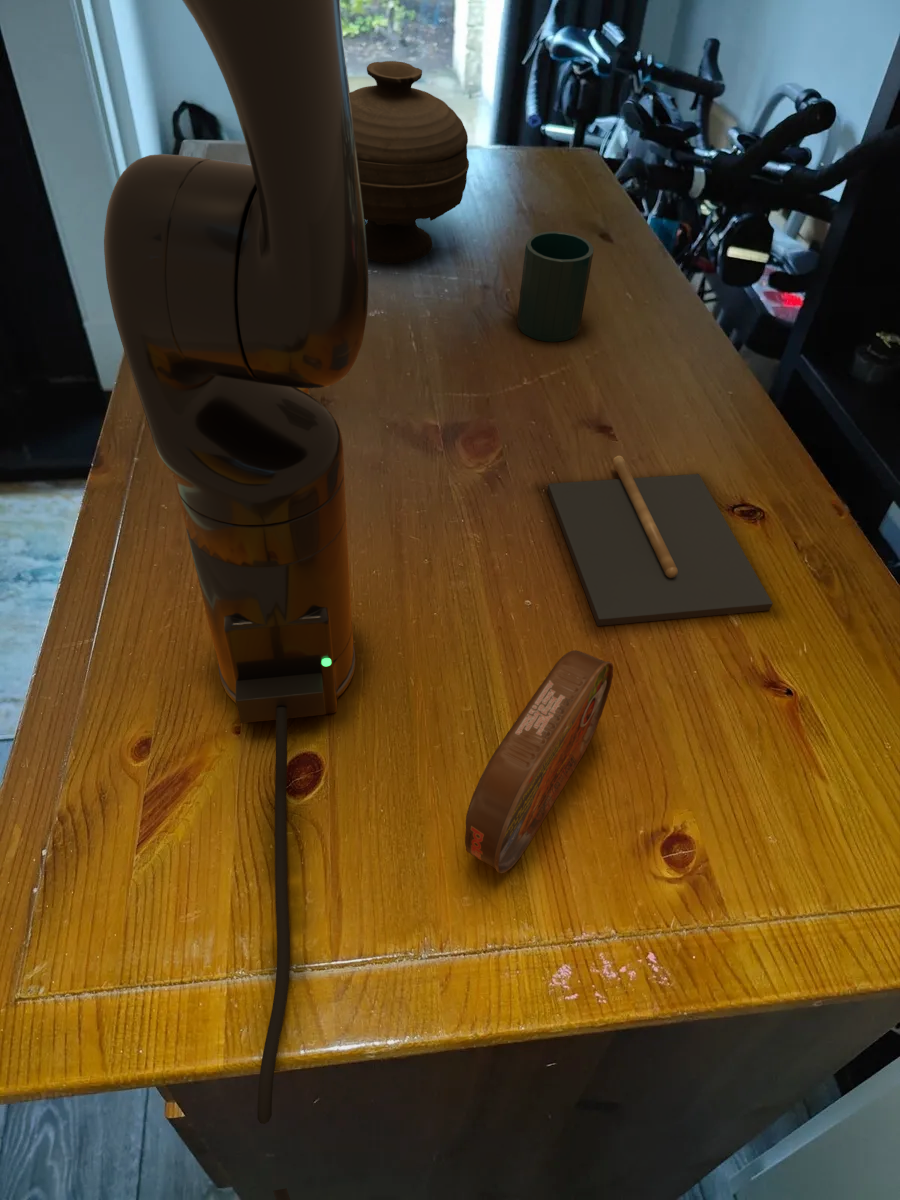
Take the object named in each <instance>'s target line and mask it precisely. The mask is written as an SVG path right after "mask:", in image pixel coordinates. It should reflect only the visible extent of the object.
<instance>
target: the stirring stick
mask: <svg viewBox="0 0 900 1200" xmlns="http://www.w3.org/2000/svg"><path fill="white" fill-rule="evenodd" d="M612 464H613V466H614V468H615V470H616V472H617V473H616V474H618V477H619V479H621V481H622V483H623V485H624V488H625V490H626V492H627V494H628V496H629V498H630V500H631V502H632V505H633V507H634V509H635V511H636V513H637V515H638V517H639V519H640V522H641V524H642V526H643V528H644V530H645V532H646V534H647V536H648V539H649V541H650V543H651V545H652V547H653V549H654V551H655V553H656V556H657V558H658V560H659V562H660V564H661V566H662V568H663V570H664V573H665V575H666V576H667V577H669V578H673V577H675V576H676V575H677V573H678V570H677V567H676V565H675V563H674V561H673V559H672V557H671V555H670V553H669V551H668V549H667V547H666V545H665V543H664V541H663V539H662V536H661V534H660V532H659V530H658V528H657V526H656V524H655V522H654V520H653V518H652V516H651V514H650V512H649V510H648V508H647V506H646V504H645V502H644V499H643V497H642V495H641V493H640V491H639V489H638V487H637V485H636V483H635V481H634V479H633V478H634V477H633V475H632V473H631V471H630V468H629V467H628V465H627V462H626V460H625V459H624V457H623V456H622V455H616V456H615V457H613V459H612Z"/></svg>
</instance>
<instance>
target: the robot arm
mask: <svg viewBox="0 0 900 1200" xmlns="http://www.w3.org/2000/svg"><path fill="white" fill-rule="evenodd" d="M181 1H182V2H183V4H184V6H185V7H186V9H187V10H188V11H189V13H190V15H191V17H192V19H193V20H194V22H195V24H196V26H197V27H198V29H199V32H201V35H202V37H203V38H204V40H205V41H206V43H207V45H208V47H209V49H210V52H211V53H212V56H213V58H214V60H215V62H216V64H217V66H218V69H219V70H220V72H221V74H222V77H223V79H224V81H225V82H224V83H225V84H226V87H227V91H228V93H229V95H230V98H231V101H232V103H233V106H234V109H235V112H236V115H237V116H236V117H237V119H238V123H239V126H240V128H241V132H242V136H243V138H244V142H245V147H246V150H247V153H248V157H249V161H250V163H249V164H248V163H242V162H235V161H227V160H219V159H213V158H211V159H210V158H205V157H199V156H189V155H181V154H167V153H157V154H149V155H145V156H143V157H141V158H138V159H136V160H135V161H133V162H132V163H130V164H129V165H128V167H126V168H125V170H123V171H122V173H121V174H120V176H119V177H118V179H117V181H116V183H115V185H114V187H113V190H112V192H111V195H110V197H109V200H108V204H107V210H106V216H105V225H104V231H103V234H104V235H103V255H104V267H105V277H106V284H107V290H108V295H109V300H110V303H111V309H112V313H113V317H114V321H115V325H116V328H117V331H118V334H119V338H120V342H121V345H122V348H123V351H124V354H125V357H126V360H127V363H128V367H129V368H130V372H131V376H132V378H133V381H134V384H135V387H136V390H137V394H138V397H139V400H140V403H141V406H142V409H143V413H144V416H145V419H146V422H147V426H148V429H149V433H150V436H151V439H152V442H153V445H154V448H155V450H156V452H157V454H158V456H159V458H160V460H161V461H162V463H163V464H164V466H165V467H166V469H168V470H169V472H171V474H172V475H173V479H174V483H175V486H176V491H177V496H178V499H179V503H180V508H181V512H182V516H183V520H184V525H185V530H186V533H187V534H186V535H187V538H188V543H189V546H190V551H191V555H192V559H193V563H194V567H195V572H196V575H197V580H198V585H199V588H200V593H201V597H202V601H203V605H204V609H205V614H206V617H207V622H208V627H209V630H210V634H211V639H212V643H213V647H214V651H215V654H216V659H217V662H218V673H219V678H220V681H221V685H222V687H223V689H224V691H225V693H226V695H227V696H228V697H229V698H230V700H232V701H233V703H235V704H236V705H235V706H236V709H237V714H238V718H239V719H238V720H239V722H240V724H246V723H255V722H266V721H275V772H274V773H275V775H274V778H275V779H274V898H275V899H274V901H275V921H276V922H275V924H276V971H275V972H276V973H275V984H274V992H273V993H274V994H273V999H272V1000H273V1001H272V1006H271V1013H270V1018H269V1023H268V1027H267V1032H266V1037H265V1041H264V1045H263V1052H262V1057H261V1063H260V1068H259V1069H260V1070H259V1076H258V1077H259V1078H258V1089H257V1120H258V1122H259V1124H262V1125H266V1124H267V1123H269V1122H270V1120H271V1118H272V1115H273V1114H272V1113H273V1112H272V1111H273V1110H272V1109H273V1091H274V1090H273V1088H274V1077H275V1068H276V1061H277V1055H278V1050H279V1045H280V1040H281V1034H282V1030H283V1025H284V1019H285V1015H286V1008H287V1002H288V993H289V984H290V968H291V966H290V965H291V933H290V912H289V911H290V910H289V894H288V887H289V886H288V839H287V838H288V837H287V836H288V835H287V830H288V829H287V826H288V825H287V790H288V788H287V787H288V786H287V785H288V783H287V782H288V778H287V777H288V719H294V718H304V717H305V718H306V717H313V716H324V715H326V714H329V715H330V714H334V713H336V712H337V711H338V705H337V704H338V703H337V702H338V698H339V697H340V696H342V694H343V693H344V692H345V690H346V689H347V688H348V687H349V685H350V683H351V682H352V679H353V677H354V674H355V670H356V650H355V646H354V634H353V619H352V601H351V600H352V599H351V580H350V562H349V560H350V559H349V543H348V542H349V541H348V525H347V523H348V522H347V521H348V520H347V497H346V496H347V495H346V481H345V480H346V475H345V458H344V457H345V456H344V444H343V443H344V442H343V436H342V433H341V429H340V427H339V424H338V421H336V419H335V417H334V415H333V414H332V412H331V411H330V410H329V409H328V408H327V407H326V406H325V405H324V404H323V403H321V402H320V401H319V400H318V399H316V398H315V397H313V396H312V395H310V393H309V394H307V393H305V392H303V391H302V390H300V389H298V388H309V389H323V388H327V387H329V386H333V385H335V384H337V383H338V382H339V381H340V380H342V379H343V378H345V377H346V376H347V375H348V373H349V372H350V371H351V369H352V368H353V367H354V365H355V363H356V361H357V359H358V356H359V354H360V350H361V348H362V344H363V340H364V334H365V330H366V324H367V316H368V309H369V307H368V304H369V279H370V278H369V259H368V254H367V239H366V229H365V224H366V221H365V219H364V208H363V199H362V191H361V182H360V174H359V166H358V157H357V149H356V141H355V132H354V124H353V116H352V107H351V99H350V92H351V91H350V84H349V75H348V67H347V60H346V51H345V50H346V49H345V41H344V32H343V31H344V30H343V22H342V20H343V19H342V9H341V0H181ZM272 1192H273V1196H274V1198H275V1200H291V1198H290V1195H289V1194H290V1193H289V1191H288V1188H287V1187H286V1188H280V1189H276V1190H272Z"/></svg>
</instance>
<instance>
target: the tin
mask: <svg viewBox="0 0 900 1200" xmlns="http://www.w3.org/2000/svg"><path fill="white" fill-rule="evenodd" d="M613 677H614V664H613V663H612V662H611V661H605V660H604V659H603V660H602V659H600V658H597V657H595V656H593V655H591V654H588V653H586V652H583V651H581V650H575V649H574V650H570V651H568V652H566V653H565V654H564V655H563V656H561V657H560V659H558V661H557V662H556V663H555V665H553V667H552V668H551V670H550V671H549V673H548V674H547V676H546V677H545V678H544V680H543V681H542V682H541V684H540V685H539V687H538V688H537V690H536V691H535V692H534V694H533V695H532V697H531V698H530V700H529V701H528V702H527V704H526V705H525V707H524V709H523V710H522V711H521V713H520V714H519V715H518V717H517V719H516V720H515V721H514V723H513V724H512V726H511V727H510V729H509V730H508V732H507V733H506V734H505V736H504V738H503V739H502V740H501V742H500V744H499V745H498V746H497V748H496V749H495V751H494V753H493V755H491V757H490V759H489V760H488V762H487V764H486V766H485V767H484V770H483V772H482V774H481V775H480V777H479V780H478V782H477V784H476V787H475V789H474V791H473V794H472V796H471V799H470V802H469V805H468V808H467V812H466V816H465V835H464V846H465V851H466V852H467V853H468V854H470V855H471V856H473V857H475V858H476V859H478V860H480V861H481V862H483V863H485V864H487V865H488V866H490V867H492V868H494V869H495V870H496V872H497V873H499V874H505V873H507V872H508V871H509V870H511V869H512V868H513V867H514V866H515V865H516V863H517V862H518V861H519V860H520V858H521V857H523V854H524V853H525V851H526V850H527V848H528V847H529V845H530V843H531V842H532V840H533V838H534V837H535V835H536V834H537V832H538V831H539V829H540V827H541V825H542V824H543V822H544V820H545V819H546V817H547V816H548V814H549V813H550V810H552V807H553V806H554V804H555V802H556V800H558V798H559V796H560V794H561V792H562V791H563V789H564V788H565V786H566V784H567V782H568V781H569V779H570V777H571V776H572V775H573V772H574V771H575V770H576V768H577V766H578V765H579V763H580V762H581V759H582V757H584V754H585V752H586V750H587V749H588V746H589V744H590V742H591V741H592V738H593V736H594V734H595V731H596V729H597V727H598V724H599V723H600V720H601V717H602V715H603V712H604V709H605V706H606V703H607V701H608V696H609V693H610V691H611V686H612V681H613Z"/></svg>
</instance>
